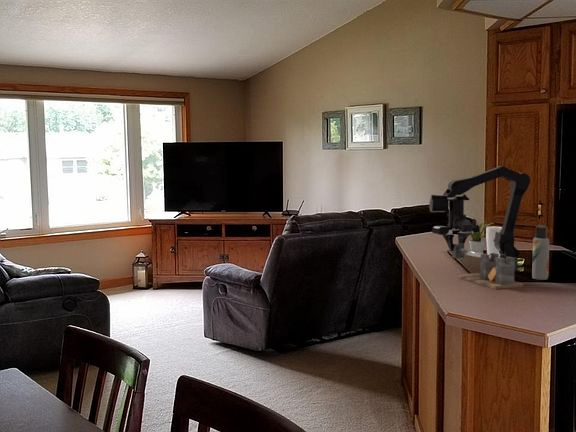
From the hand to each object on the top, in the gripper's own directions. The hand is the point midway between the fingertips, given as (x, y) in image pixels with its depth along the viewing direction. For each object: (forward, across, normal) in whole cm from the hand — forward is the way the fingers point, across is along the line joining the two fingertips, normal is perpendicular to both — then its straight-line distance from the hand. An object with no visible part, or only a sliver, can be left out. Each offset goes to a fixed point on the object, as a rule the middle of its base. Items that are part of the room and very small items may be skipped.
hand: (456, 250), depth 259 cm
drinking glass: (+9, +28, +13) cm, 32 cm away
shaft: (+3, 0, -11) cm, 11 cm away
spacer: (+7, 0, -25) cm, 26 cm away
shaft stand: (+9, 0, -21) cm, 23 cm away
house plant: (+9, +35, +33) cm, 49 cm away
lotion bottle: (+9, +21, -24) cm, 33 cm away
